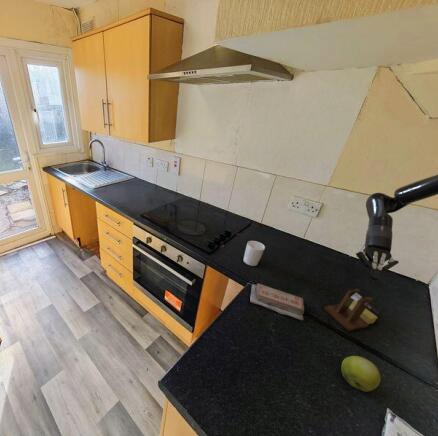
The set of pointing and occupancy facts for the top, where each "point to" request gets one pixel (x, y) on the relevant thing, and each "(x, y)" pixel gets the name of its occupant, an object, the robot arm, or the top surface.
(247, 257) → the white cup
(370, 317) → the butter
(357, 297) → the grey t-shaped tool
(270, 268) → the top surface
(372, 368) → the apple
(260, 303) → the packaged product
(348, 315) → the brown pronged stand
